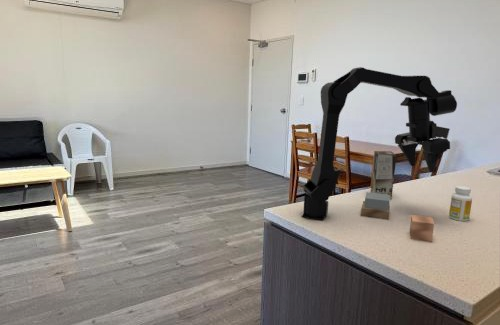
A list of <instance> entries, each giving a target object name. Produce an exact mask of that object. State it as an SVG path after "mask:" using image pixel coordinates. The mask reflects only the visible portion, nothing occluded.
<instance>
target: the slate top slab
mask: <svg viewBox="0 0 500 325" xmlns="http://www.w3.org/2000/svg"><path fill="white" fill-rule="evenodd" d="M364 201H365V206H364V208H372V209H380V210H388V211H389V204H390V202H391V200H390V195H387V194H378V193H371V192H369V191H367V192H366V194H365V197H364Z"/></svg>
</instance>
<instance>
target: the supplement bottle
mask: <svg viewBox="0 0 500 325" xmlns="http://www.w3.org/2000/svg"><path fill="white" fill-rule="evenodd" d="M454 191H455V192H454V193H452V195H451V198H450V206H449V215H448V216H449V218H450V219H453V220H456V221H458V222H459V221H460V222H461V221H462V222H467V221H469V220H470V216H471V211H472V204H473V197H472V195H471V192H472V189H471V187H469V186H464V185H463V186H462V185H458V186H455V189H454Z"/></svg>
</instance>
